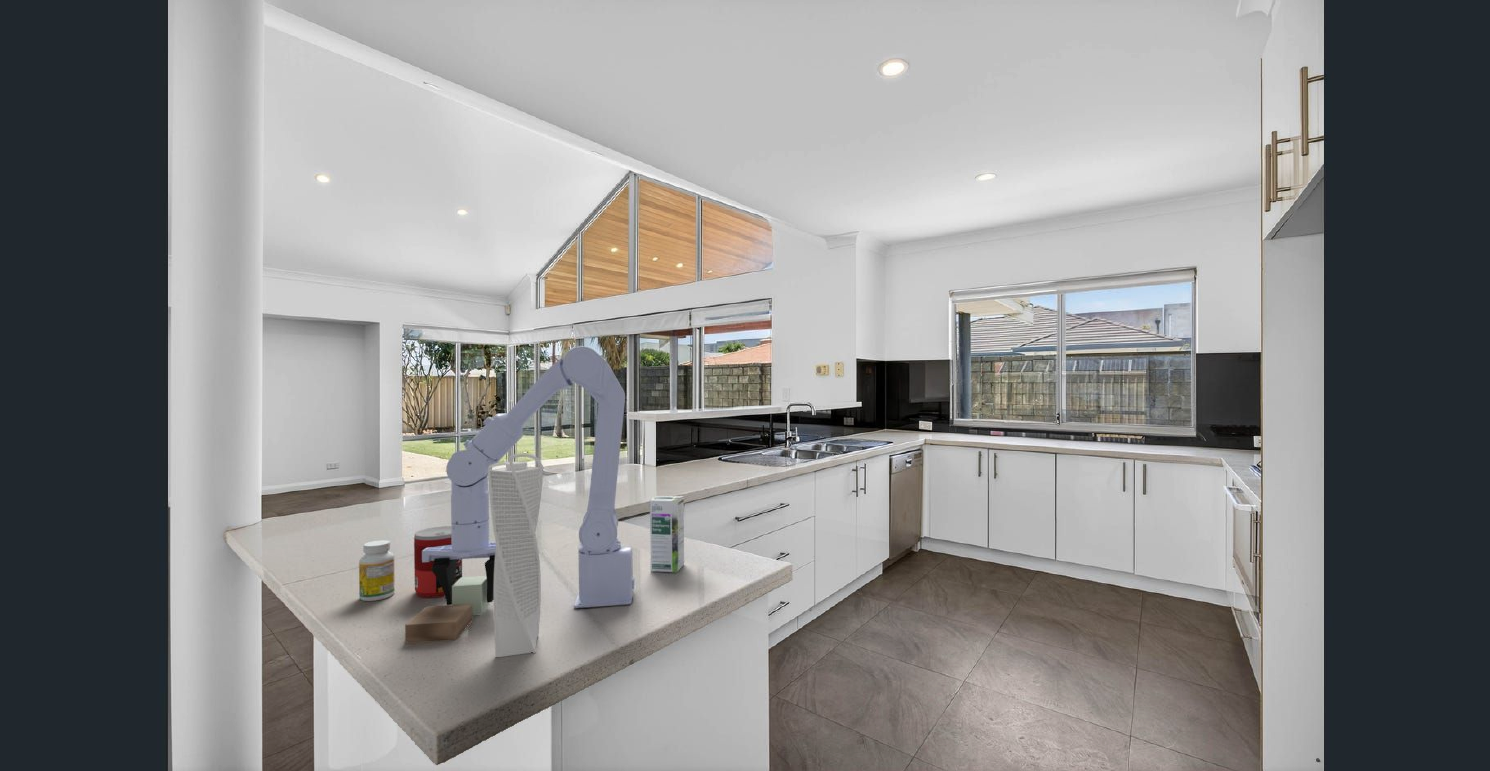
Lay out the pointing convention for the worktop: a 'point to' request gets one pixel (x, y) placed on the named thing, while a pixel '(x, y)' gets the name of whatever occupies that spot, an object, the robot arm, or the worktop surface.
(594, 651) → the worktop surface
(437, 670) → the worktop surface
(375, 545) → the supplement bottle
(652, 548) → the syrup box
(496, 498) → the skyscraper
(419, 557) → the canned food
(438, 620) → the walnut block
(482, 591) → the sage block
